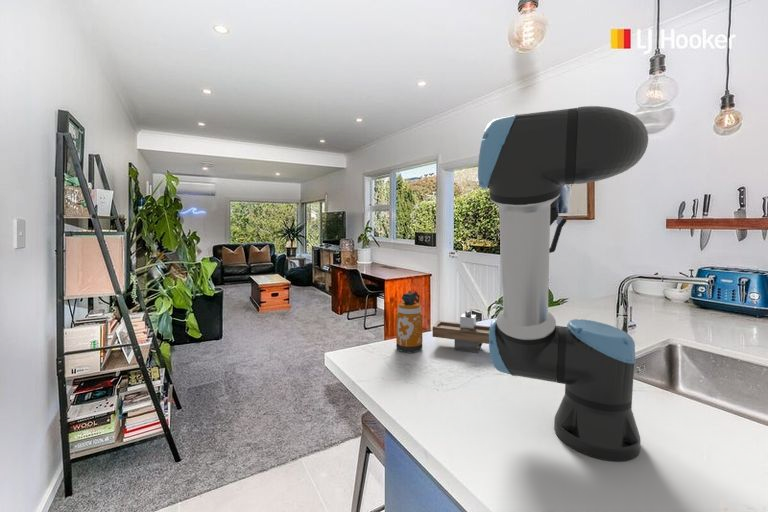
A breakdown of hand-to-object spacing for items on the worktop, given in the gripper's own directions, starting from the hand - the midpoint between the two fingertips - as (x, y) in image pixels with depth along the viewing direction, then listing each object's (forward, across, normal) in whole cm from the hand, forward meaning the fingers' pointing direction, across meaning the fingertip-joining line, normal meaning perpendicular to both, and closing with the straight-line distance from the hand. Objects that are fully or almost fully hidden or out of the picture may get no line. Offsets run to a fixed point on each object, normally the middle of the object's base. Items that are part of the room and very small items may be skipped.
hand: (539, 276), depth 105 cm
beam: (+28, +22, -10) cm, 36 cm away
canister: (+28, +40, -4) cm, 49 cm away
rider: (+21, +22, -10) cm, 32 cm away
